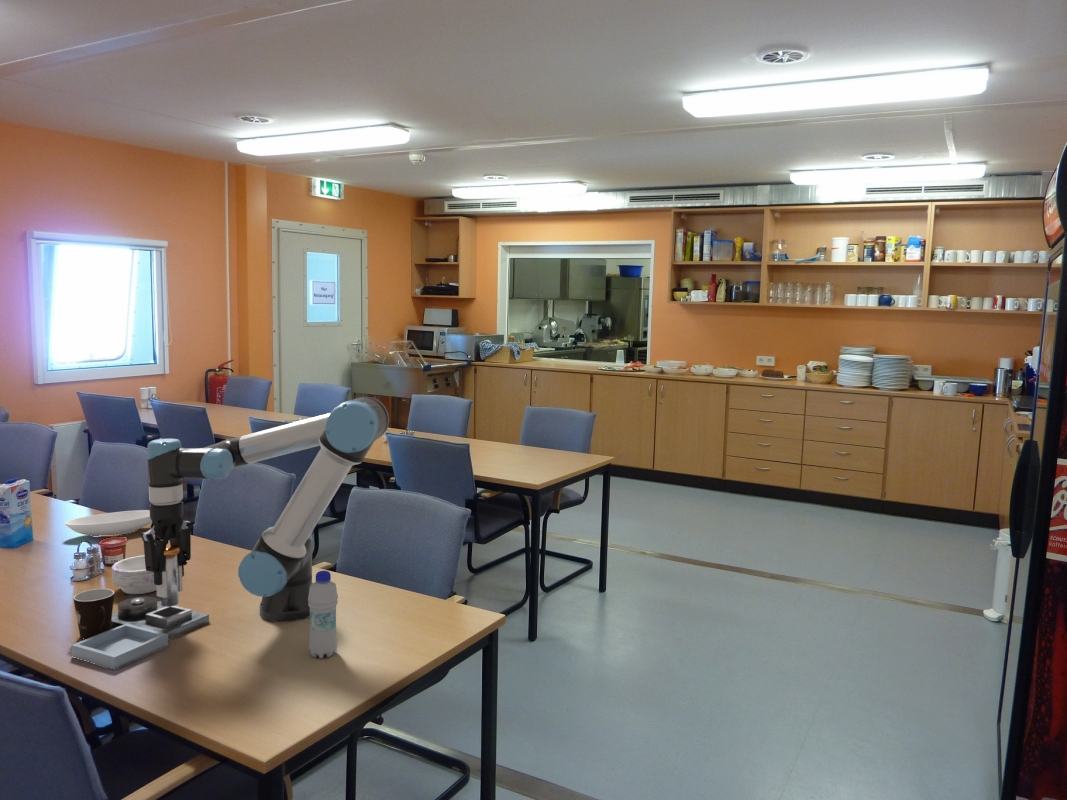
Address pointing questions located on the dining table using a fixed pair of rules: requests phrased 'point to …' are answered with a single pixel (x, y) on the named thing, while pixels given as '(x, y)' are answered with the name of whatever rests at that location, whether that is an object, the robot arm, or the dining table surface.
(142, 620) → the plate
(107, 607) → the coffee mug
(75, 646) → the tray
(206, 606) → the dining table surface
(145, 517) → the bowl
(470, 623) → the dining table surface
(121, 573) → the paper bowls
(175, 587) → the pin
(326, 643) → the bottle
